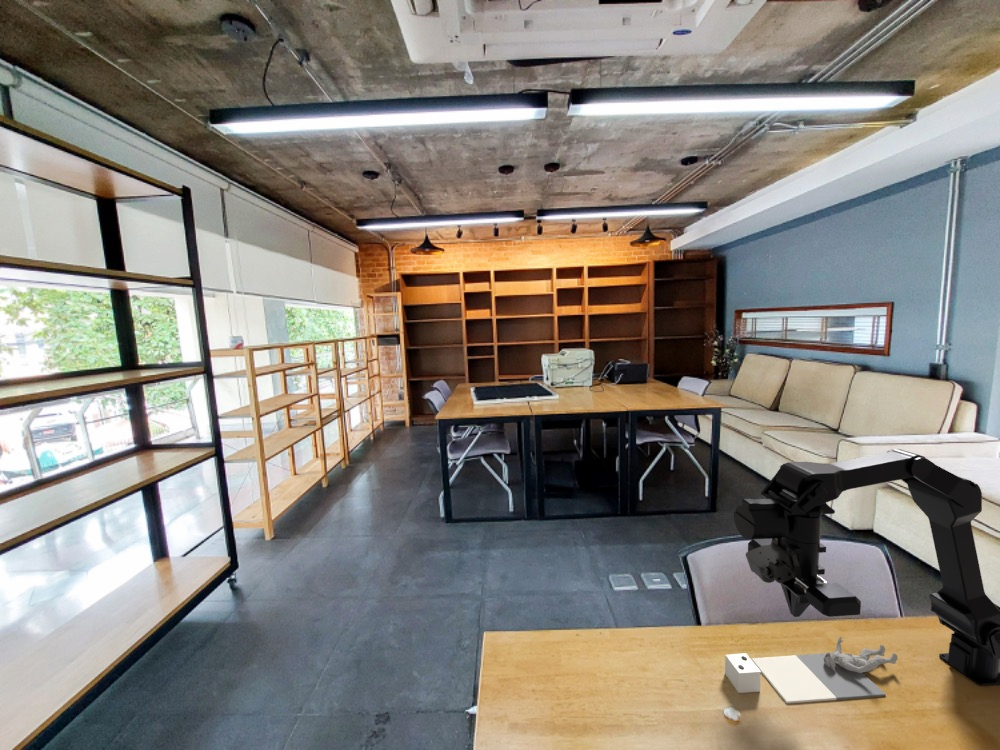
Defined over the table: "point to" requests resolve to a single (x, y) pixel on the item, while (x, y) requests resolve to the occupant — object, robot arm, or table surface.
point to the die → (742, 673)
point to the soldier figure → (858, 659)
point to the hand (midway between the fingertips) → (795, 615)
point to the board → (814, 679)
